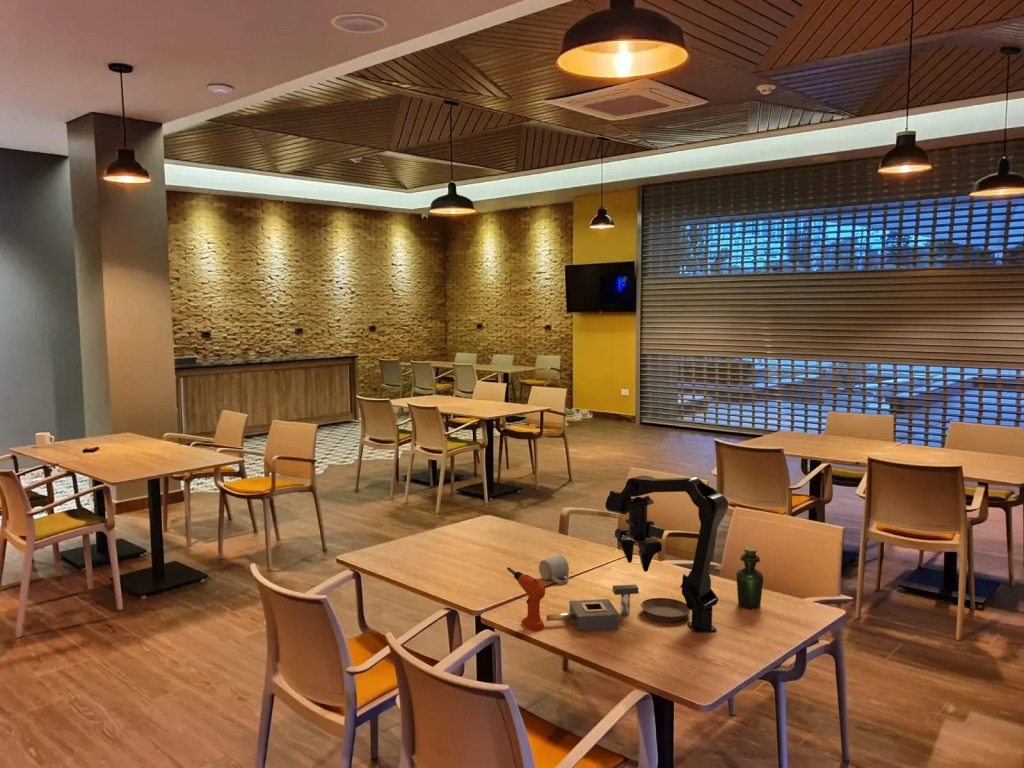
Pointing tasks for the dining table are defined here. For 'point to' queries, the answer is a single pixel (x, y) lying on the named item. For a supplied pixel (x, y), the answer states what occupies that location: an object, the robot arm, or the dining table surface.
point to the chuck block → (590, 615)
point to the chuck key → (625, 596)
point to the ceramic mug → (554, 569)
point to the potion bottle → (749, 580)
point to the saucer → (665, 609)
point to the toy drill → (531, 599)
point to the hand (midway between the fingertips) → (637, 566)
